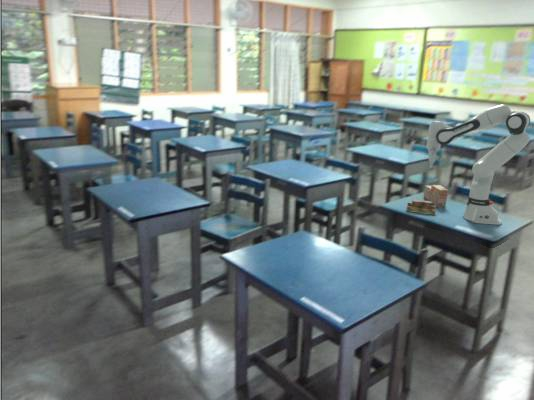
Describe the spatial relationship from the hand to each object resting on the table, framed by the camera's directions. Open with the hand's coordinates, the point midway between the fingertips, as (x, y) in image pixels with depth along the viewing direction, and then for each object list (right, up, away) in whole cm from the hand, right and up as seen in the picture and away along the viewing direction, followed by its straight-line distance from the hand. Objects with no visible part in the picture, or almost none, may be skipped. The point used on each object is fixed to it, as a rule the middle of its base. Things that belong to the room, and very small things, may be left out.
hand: (430, 166), depth 294 cm
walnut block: (-6, -29, +1) cm, 30 cm away
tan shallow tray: (-6, -30, +1) cm, 30 cm away
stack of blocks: (+10, -24, +21) cm, 34 cm away
